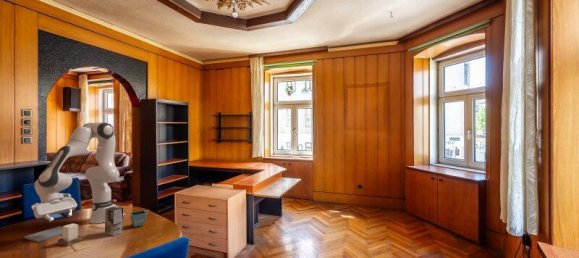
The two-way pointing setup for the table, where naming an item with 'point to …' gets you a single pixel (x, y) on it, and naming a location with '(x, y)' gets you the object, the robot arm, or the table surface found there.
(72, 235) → the cream block
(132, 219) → the flower pot
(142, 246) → the table surface
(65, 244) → the walnut pocket
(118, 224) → the coffee box
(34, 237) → the slate board
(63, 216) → the handheld game console
